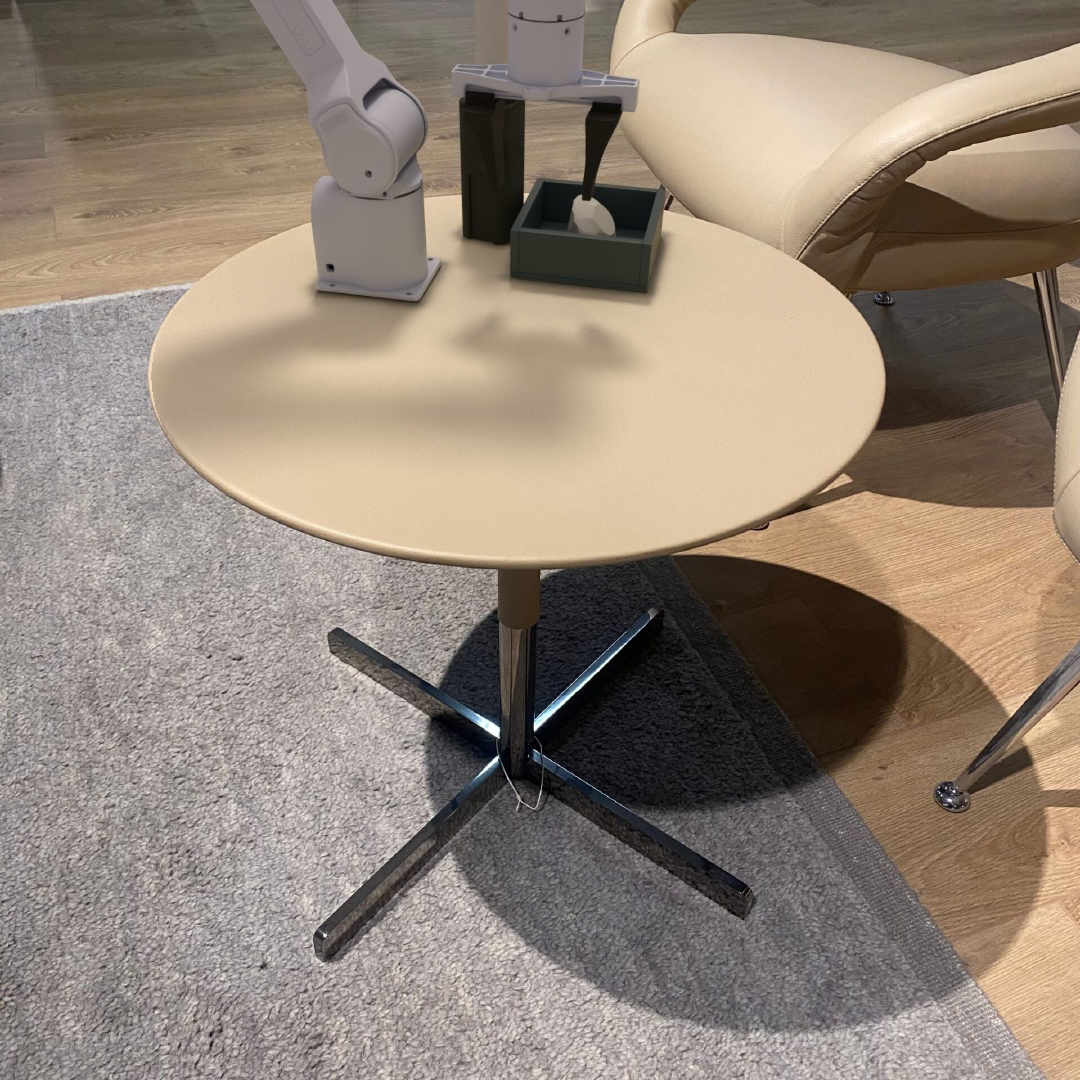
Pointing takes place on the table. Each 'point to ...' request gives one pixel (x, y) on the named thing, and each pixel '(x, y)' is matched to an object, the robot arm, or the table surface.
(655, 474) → the table surface
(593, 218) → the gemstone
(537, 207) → the bin
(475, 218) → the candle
